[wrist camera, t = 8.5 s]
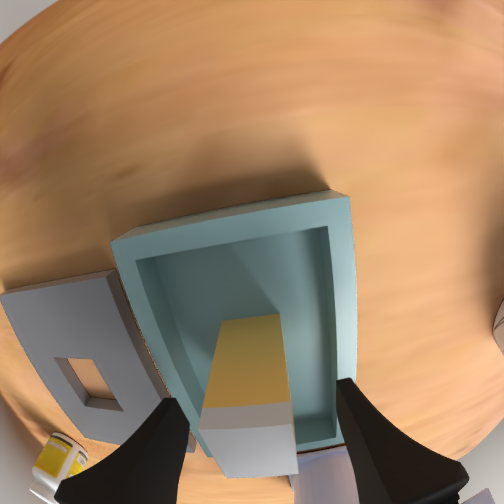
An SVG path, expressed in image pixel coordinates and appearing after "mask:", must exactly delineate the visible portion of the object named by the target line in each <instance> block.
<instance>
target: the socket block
mask: <svg viewBox="0 0 504 504" xmlns="http://www.w3.org/2000/svg"><path fill="white" fill-rule="evenodd" d="M0 301H1V303H2V306H3V308H4V310H5V313H6V315H7V317H8V319H9V321H10V324H11V326H12V328H13V330H14V332H15V334H16V336H17V338H18V340H19V342H20V344H21V345H22V347H23V349H24V351H25V353H26V355H27V356H28V358H29V360H30V362H31V363H32V365H33V367H34V368H35V370H36V372H37V373H38V375H39V376H40V378H41V380H42V381H43V383H44V384H45V386H46V387H47V389H48V390H49V392H50V393H51V395H52V396H53V397H54V399H55V400H56V402H57V403H58V404H59V406H60V407H61V408H62V410H63V411H64V412H65V414H66V415H67V416H68V418H69V419H70V420H71V421H72V423H73V424H74V425H75V426H76V427H77V429H78V430H79V431H80V432H81V433H82V435H83V436H84V437H85V438H89V439H93V440H97V441H102V442H107V443H112V444H117V445H122V444H123V443H124V442H125V441H126V440H127V439H128V438H129V437H130V436H131V435H132V434H133V433H134V432H135V431H136V430H137V429H138V428H139V427H140V426H141V425H142V423H143V422H144V421H145V420H146V419H147V418H148V416H149V415H150V414H151V413H152V412H153V410H154V409H155V408H156V407H157V406H158V404H159V403H160V402H161V401H162V400H163V399H164V398H171V397H170V395H169V393H168V392H167V390H166V388H165V386H164V384H163V382H162V380H161V378H160V376H159V374H158V372H157V370H156V368H155V366H154V364H153V361H152V359H151V357H150V355H149V353H148V351H147V348H146V346H145V344H144V342H143V339H142V337H141V335H140V332H139V330H138V328H137V325H136V323H135V320H134V318H133V315H132V313H131V310H130V308H129V305H128V302H127V300H126V297H125V294H124V292H123V289H122V286H121V283H120V280H119V277H118V275H117V272H116V269H112V270H106V271H101V272H96V273H90V274H85V275H80V276H74V277H69V278H64V279H59V280H53V281H48V282H43V283H38V284H33V285H28V286H22V287H17V288H12V289H7V290H6V291H4V292H3V293H1V294H0ZM67 358H77V359H92V360H93V362H94V363H95V365H96V367H97V369H98V370H99V372H100V374H101V376H102V377H103V379H104V381H105V382H106V384H107V386H108V387H109V389H110V391H111V392H112V394H113V395H114V397H115V398H116V400H110V399H101V398H92V397H90V396H89V394H88V393H87V391H86V390H85V388H84V387H83V385H82V383H81V382H80V380H79V379H78V377H77V375H76V374H75V372H74V370H73V369H72V367H71V365H70V364H69V362H68V360H67ZM195 447H196V440H195V439H194V437H193V436H192V434H191V432H190V431H189V440H188V445H187V449H186V452H190V453H194V452H195Z"/></svg>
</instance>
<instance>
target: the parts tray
mask: <svg viewBox="0 0 504 504" xmlns="http://www.w3.org/2000/svg"><path fill="white" fill-rule="evenodd" d="M110 245H111V249H112V252H113V255H114V258H115V261H116V265H117V268H118V271H119V274H120V277H121V280H122V283H123V285H124V288H125V291H126V294H127V297H128V299H129V302H130V305H131V307H132V310H133V312H134V315H135V317H136V320H137V322H138V325H139V327H140V330H141V332H142V334H143V337H144V339H145V341H146V344H147V346H148V348H149V350H150V353H151V355H152V357H153V359H154V361H155V363H156V366H157V368H158V370H159V372H160V374H161V376H162V378H163V380H164V382H165V384H166V386H167V388H168V390H169V392H170V394H171V395H172V397H173V398H176V399H177V401H178V403H179V404H180V406H181V408H182V410H183V412H184V414H185V415H186V417H187V419H188V421H189V422H190V429H191V431H192V433H193V434H194V436H195V438H196V439H197V441H198V442H199V444H200V446H201V447H202V449H203V450H204V452H205V453H206V455H207V456H208V457H213V456H212V454H211V452H210V450H209V449H208V447H207V445H206V444H205V442H204V440H203V438H202V436H201V435H200V433H199V431H198V425H199V421H200V416H201V412H202V407H203V402H204V398H205V393H206V389H207V384H208V380H209V375H210V371H211V366H212V362H213V358H214V353H215V349H216V344H217V340H218V336H219V331H220V327H221V323H222V321H225V320H234V319H242V318H250V317H257V316H264V315H271V314H278V313H280V318H281V325H282V332H283V339H284V346H285V353H286V360H287V367H288V375H289V384H290V393H291V402H292V411H293V420H294V430H295V440H296V450H297V451H303V450H309V449H315V448H321V447H326V446H331V445H336V444H340V443H345V442H344V439H343V436H342V433H341V430H340V426H339V422H338V417H337V412H336V380H339V379H344V378H348V377H350V378H352V380H353V381H354V383H356V362H357V289H356V267H355V251H354V238H353V227H352V217H351V208H350V199H349V196H347V195H344V194H342V193H339V192H336V191H334V190H326V191H319V192H312V193H306V194H300V195H293V196H287V197H281V198H275V199H270V200H264V201H258V202H253V203H247V204H242V205H237V206H232V207H226V208H221V209H216V210H211V211H206V212H202V213H197V214H192V215H187V216H183V217H178V218H174V219H169V220H165V221H160V222H156V223H152V224H147V225H143V226H139V227H135V228H133V229H131V230H130V231H128V232H126V233H124V234H123V235H121V236H119V237H118V238H116V239H114V240H112V241H111V242H110Z"/></svg>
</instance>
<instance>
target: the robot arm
mask: <svg viewBox="0 0 504 504" xmlns="http://www.w3.org/2000/svg"><path fill="white" fill-rule="evenodd" d="M336 412H337V417H338V422H339V426H340V430H341V433H342V436H343V439H344V442H345V445H346V446H341V447H337V448H332V449H327V450H322V451H316V452H310V453H304V454H297V460H298V471H299V474H293V475H288V476H289V480H290V483H291V487H292V491H293V492H294V503H295V504H459V503H458V500H459V499H460V498H459V495H458V492H459V491H460V490H461V489H462V488H463V487H464V486H465V485H466V484H467V483H468V481H469V476H468V473H467V472H466V470H465V468H464V467H463V466H462V464H461V463H460V462H458V461H455V460H452V459H450V458H447V457H445V456H442V455H440V454H438V453H436V452H434V451H432V450H430V449H428V448H426V447H425V446H423V445H421V444H419V443H418V442H416V441H414V440H413V439H411V438H410V437H409V436H407V435H406V434H404V433H403V432H402V431H400V430H399V429H398V428H397V427H395V426H394V425H393V424H392V423H391V422H390V421H389V420H387V419H386V418H385V417H384V416H383V415H382V414H381V413H380V412H379V411H378V410H377V409H376V408H375V407H374V406H373V405H372V403H371V402H370V401H369V400H368V399H367V398H366V397H365V395H364V394H363V393H362V392H361V391H360V389H359V388H358V387H357V385H356V384H355V383H354V381H353V380H352V378H350V377H348V378H344V379H339V380H336ZM189 430H190V422H189V421H188V419H187V417H186V415H185V414H184V412H183V410H182V408H181V406H180V404H179V403H178V401H177V399H176V398H164V399H163V400H162V401H161V402H160V403H159V404H158V406H157V407H156V408H155V409H154V410H153V412H152V413H151V414H150V415H149V416H148V418H147V419H146V420H145V421H144V422H143V423H142V425H141V426H140V427H139V428H138V429H137V430H136V431H135V432H134V433H133V434H132V435H131V436H130V437H129V438H128V439H127V440H126V441H125V442H124V443H123V444H122V445H121V446H120V447H119V448H118V449H116V450H115V451H114V452H113V453H111V454H110V455H109V456H107V457H106V458H104V459H103V460H102V461H100V462H99V463H97V464H95V465H94V466H92V467H90V468H89V469H87V470H85V471H83V472H81V473H79V474H76V475H74V476H71V477H69V478H66V479H63V480H61V482H60V484H59V486H58V488H57V490H56V493H55V495H54V499H55V501H57V502H58V503H59V504H176V501H177V491H178V483H179V477H180V473H181V469H182V465H183V461H184V457H185V453H186V449H187V445H188V440H189ZM461 504H495V502H494V500H493V498H492V496H491V493H490V491H489V489H488V488H485V489H484V490H482V491H481V492H479V493H478V494H476V495H475V496H473V497H471V498H469V499H468V500H466V501H465V502H463V503H461Z"/></svg>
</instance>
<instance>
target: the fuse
mask: <svg viewBox="0 0 504 504" xmlns="http://www.w3.org/2000/svg"><path fill="white" fill-rule="evenodd" d="M198 431H199V433H200V435H201V436H202V438H203V440H204V442H205V444H206V445H207V447H208V449H209V450H210V452H211V454H212V456H213V457H214V459H215V461H216V462H217V464H218V465H219V467H220V469H221V470H222V472H223V473H224V475H225V477H226V478H257V477H272V476H283V475H293V474H299V471H298V460H297V450H296V440H295V430H294V420H293V411H292V402H291V393H290V384H289V375H288V367H287V360H286V353H285V346H284V339H283V332H282V325H281V318H280V313H278V314H271V315H264V316H257V317H250V318H242V319H234V320H225V321H222V323H221V327H220V331H219V336H218V340H217V344H216V349H215V353H214V358H213V362H212V366H211V371H210V375H209V380H208V384H207V389H206V393H205V398H204V402H203V407H202V412H201V416H200V421H199V425H198Z"/></svg>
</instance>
